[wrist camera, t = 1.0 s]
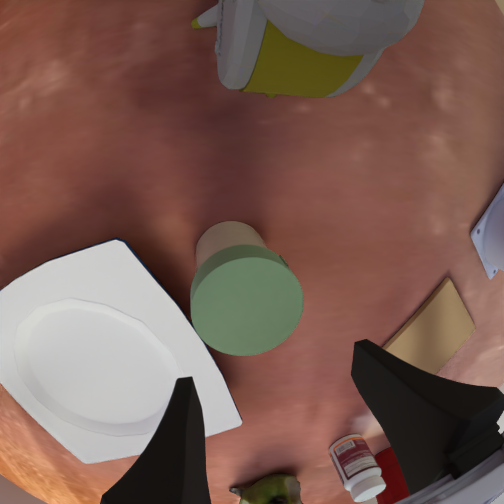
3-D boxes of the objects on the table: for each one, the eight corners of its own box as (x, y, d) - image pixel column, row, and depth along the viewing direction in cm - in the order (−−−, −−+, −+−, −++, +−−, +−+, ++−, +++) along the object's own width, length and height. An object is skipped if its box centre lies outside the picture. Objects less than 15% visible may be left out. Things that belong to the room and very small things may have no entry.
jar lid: (241, 220, 15) (247, 231, 13) (313, 284, 17) (326, 300, 15) (169, 300, 16) (167, 318, 14) (245, 351, 18) (251, 371, 16)
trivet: (446, 276, 26) (450, 279, 26) (473, 326, 30) (476, 328, 30) (369, 359, 28) (372, 362, 27) (411, 392, 32) (413, 395, 31)
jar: (227, 206, 20) (244, 239, 14) (278, 250, 22) (314, 298, 16) (180, 259, 21) (177, 313, 15) (232, 298, 23) (249, 360, 16)
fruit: (249, 456, 32) (275, 503, 25) (304, 460, 36) (333, 498, 29) (216, 496, 33) (235, 540, 25) (270, 497, 36) (293, 534, 29)
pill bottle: (353, 451, 34) (377, 497, 27) (322, 457, 33) (344, 507, 26) (368, 430, 33) (396, 478, 25) (336, 435, 32) (362, 489, 24)
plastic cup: (376, 477, 40) (403, 527, 29) (339, 474, 36) (367, 536, 25) (424, 438, 38) (459, 488, 27) (394, 430, 35) (434, 493, 24)
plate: (-36, 311, 19) (-50, 326, 16) (135, 206, 19) (126, 215, 17) (88, 451, 27) (85, 469, 24) (252, 405, 27) (257, 426, 25)
